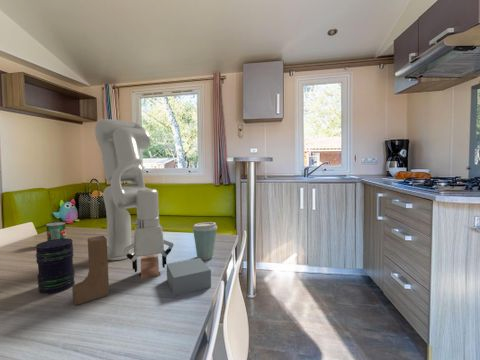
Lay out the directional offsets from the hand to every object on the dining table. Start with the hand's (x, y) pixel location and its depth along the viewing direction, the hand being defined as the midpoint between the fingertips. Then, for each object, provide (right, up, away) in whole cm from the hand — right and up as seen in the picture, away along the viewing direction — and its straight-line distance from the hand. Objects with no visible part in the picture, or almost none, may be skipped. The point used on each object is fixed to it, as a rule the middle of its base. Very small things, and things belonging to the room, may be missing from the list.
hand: (150, 268), depth 92 cm
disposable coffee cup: (+18, -1, +16) cm, 24 cm away
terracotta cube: (0, -2, 0) cm, 2 cm away
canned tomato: (-61, -1, +36) cm, 71 cm away
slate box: (+16, -3, -8) cm, 18 cm away
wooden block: (-12, -3, -16) cm, 20 cm away
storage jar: (-28, -3, -9) cm, 29 cm away
